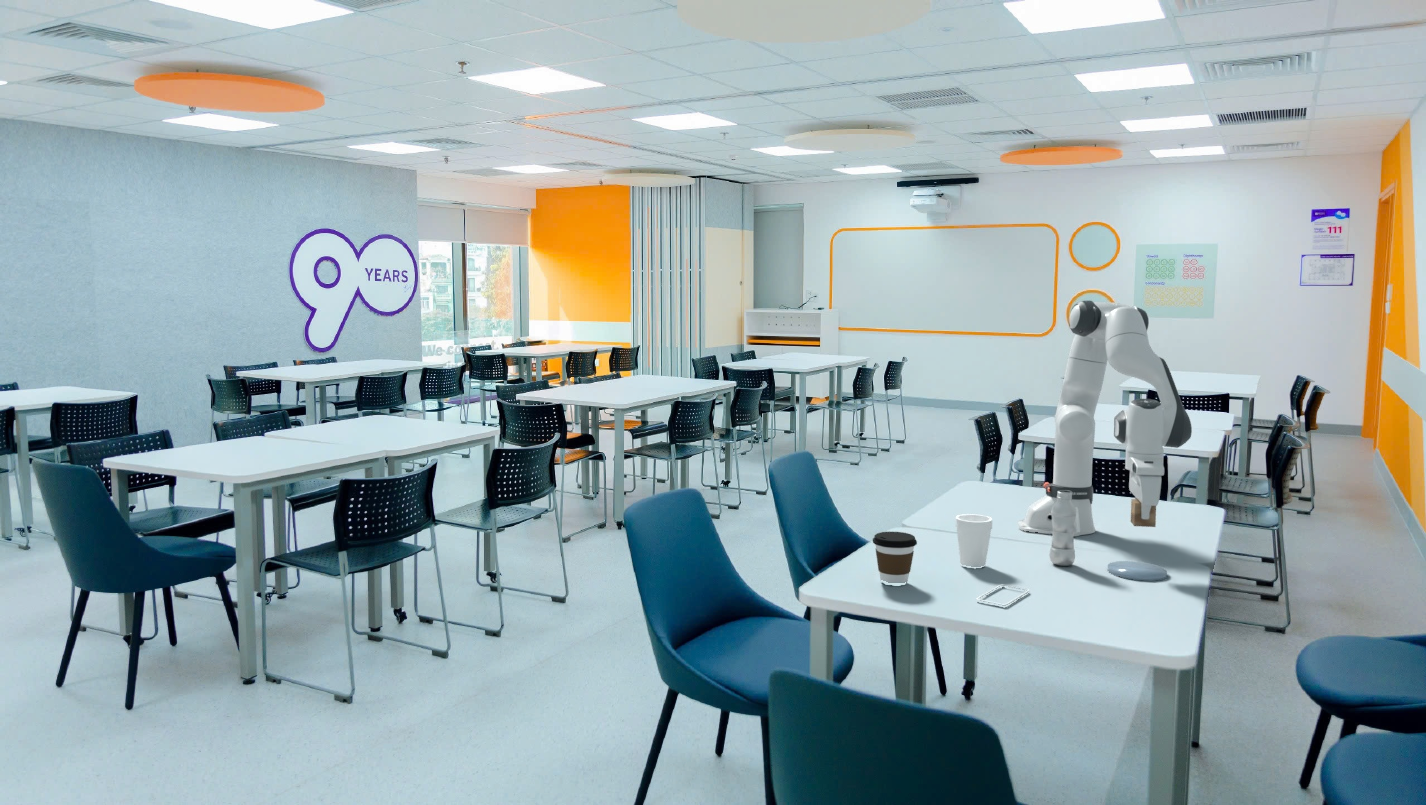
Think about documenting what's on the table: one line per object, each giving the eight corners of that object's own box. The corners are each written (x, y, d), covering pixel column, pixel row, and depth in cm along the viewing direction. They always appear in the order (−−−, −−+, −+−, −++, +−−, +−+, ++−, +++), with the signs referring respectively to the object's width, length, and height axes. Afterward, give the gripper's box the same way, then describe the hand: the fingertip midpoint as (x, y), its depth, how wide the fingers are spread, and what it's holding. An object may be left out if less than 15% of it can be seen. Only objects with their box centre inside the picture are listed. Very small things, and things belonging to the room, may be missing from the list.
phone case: (1005, 610, 213) (1030, 594, 224) (1005, 604, 213) (1030, 589, 224) (974, 604, 218) (1000, 589, 229) (975, 598, 217) (1001, 583, 229)
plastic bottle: (1074, 562, 250) (1077, 489, 248) (1075, 569, 244) (1078, 494, 242) (1048, 560, 252) (1051, 488, 250) (1049, 567, 246) (1051, 493, 244)
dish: (1111, 578, 236) (1111, 573, 236) (1104, 563, 249) (1104, 559, 249) (1171, 582, 232) (1172, 578, 232) (1161, 567, 245) (1161, 563, 245)
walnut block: (1134, 526, 237) (1134, 503, 237) (1130, 521, 242) (1131, 498, 241) (1155, 526, 236) (1156, 503, 235) (1151, 522, 241) (1152, 499, 240)
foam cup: (993, 563, 250) (994, 516, 249) (988, 572, 242) (989, 523, 240) (957, 559, 254) (958, 512, 253) (951, 568, 246) (952, 520, 244)
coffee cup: (890, 592, 225) (891, 543, 224) (863, 580, 235) (863, 533, 234) (925, 585, 230) (926, 538, 229) (897, 574, 240) (898, 529, 239)
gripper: (1123, 456, 248) (1122, 506, 250) (1138, 469, 229) (1136, 524, 230) (1149, 456, 247) (1147, 507, 248) (1165, 470, 227) (1164, 525, 228)
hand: (1142, 515), depth 239 cm, fingers closed on walnut block, 5 cm apart
